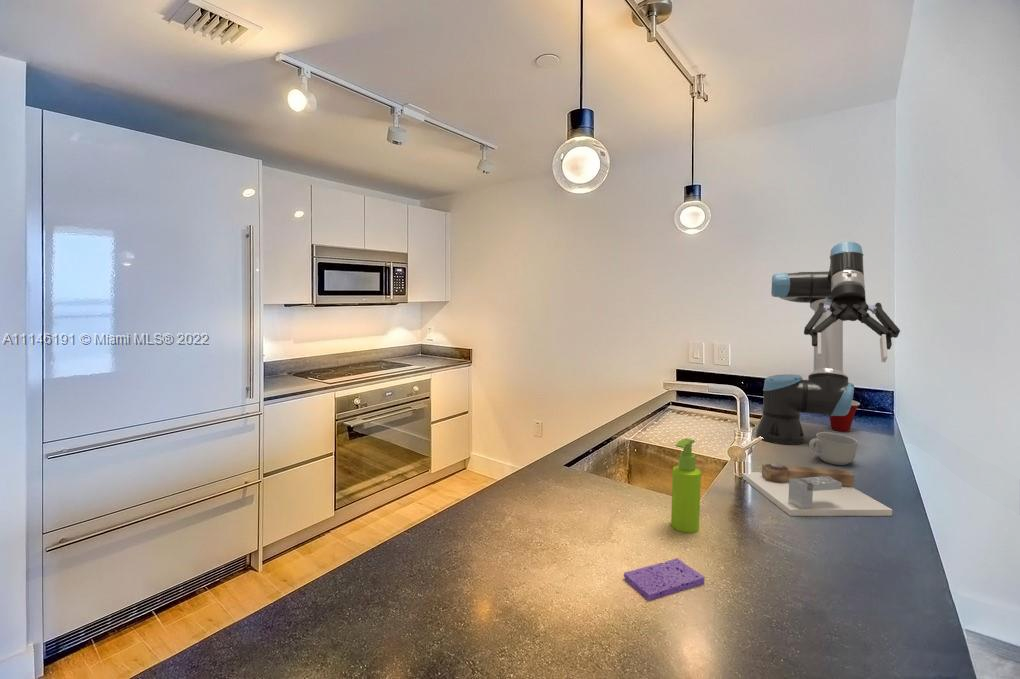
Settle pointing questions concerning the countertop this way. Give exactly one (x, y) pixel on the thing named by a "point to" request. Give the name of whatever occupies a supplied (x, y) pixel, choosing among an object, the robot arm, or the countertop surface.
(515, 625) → the countertop surface
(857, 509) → the base board
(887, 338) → the robot arm
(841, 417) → the plastic cup
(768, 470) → the latch
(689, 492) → the soap dispenser
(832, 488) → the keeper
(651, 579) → the sponges
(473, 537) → the countertop surface
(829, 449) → the teacup
